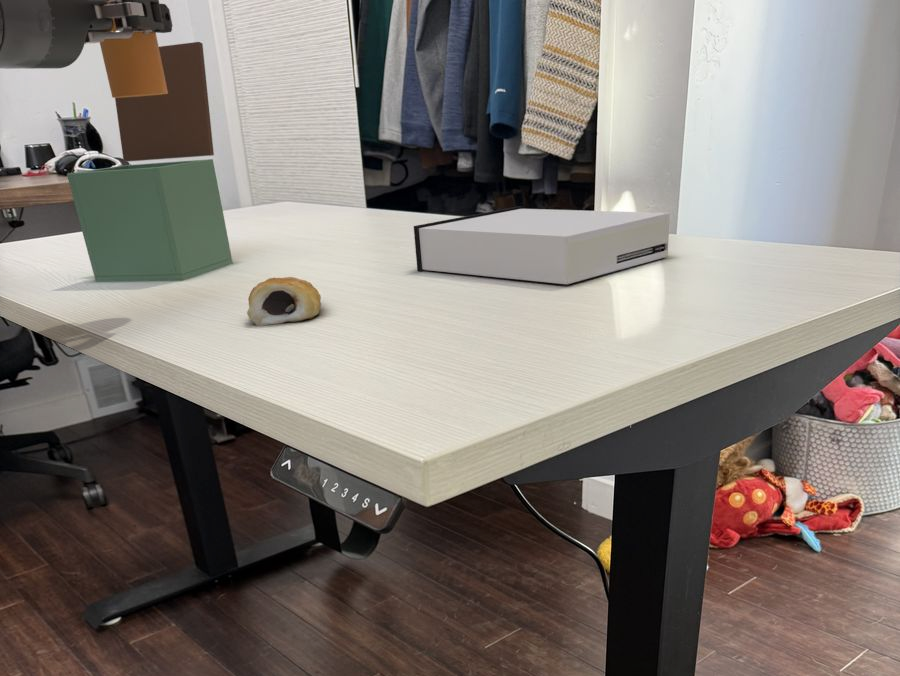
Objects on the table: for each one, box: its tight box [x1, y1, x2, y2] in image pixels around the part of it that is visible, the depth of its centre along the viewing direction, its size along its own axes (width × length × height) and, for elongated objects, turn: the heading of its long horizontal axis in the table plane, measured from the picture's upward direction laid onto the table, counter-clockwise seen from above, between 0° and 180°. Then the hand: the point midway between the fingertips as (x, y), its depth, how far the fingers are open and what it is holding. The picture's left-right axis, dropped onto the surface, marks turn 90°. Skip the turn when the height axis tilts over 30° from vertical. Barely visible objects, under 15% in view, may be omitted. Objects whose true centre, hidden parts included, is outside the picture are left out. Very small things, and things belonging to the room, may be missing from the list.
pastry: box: [246, 276, 322, 326], centre depth 83 cm, size 9×7×4 cm
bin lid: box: [114, 41, 215, 163], centre depth 110 cm, size 12×14×1 cm
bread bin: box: [66, 158, 234, 283], centre depth 111 cm, size 12×14×13 cm
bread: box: [99, 1, 168, 99], centre depth 80 cm, size 5×5×11 cm
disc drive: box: [413, 205, 671, 285], centre depth 96 cm, size 18×22×5 cm
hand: (141, 22), depth 82 cm, fingers closed on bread, 5 cm apart
